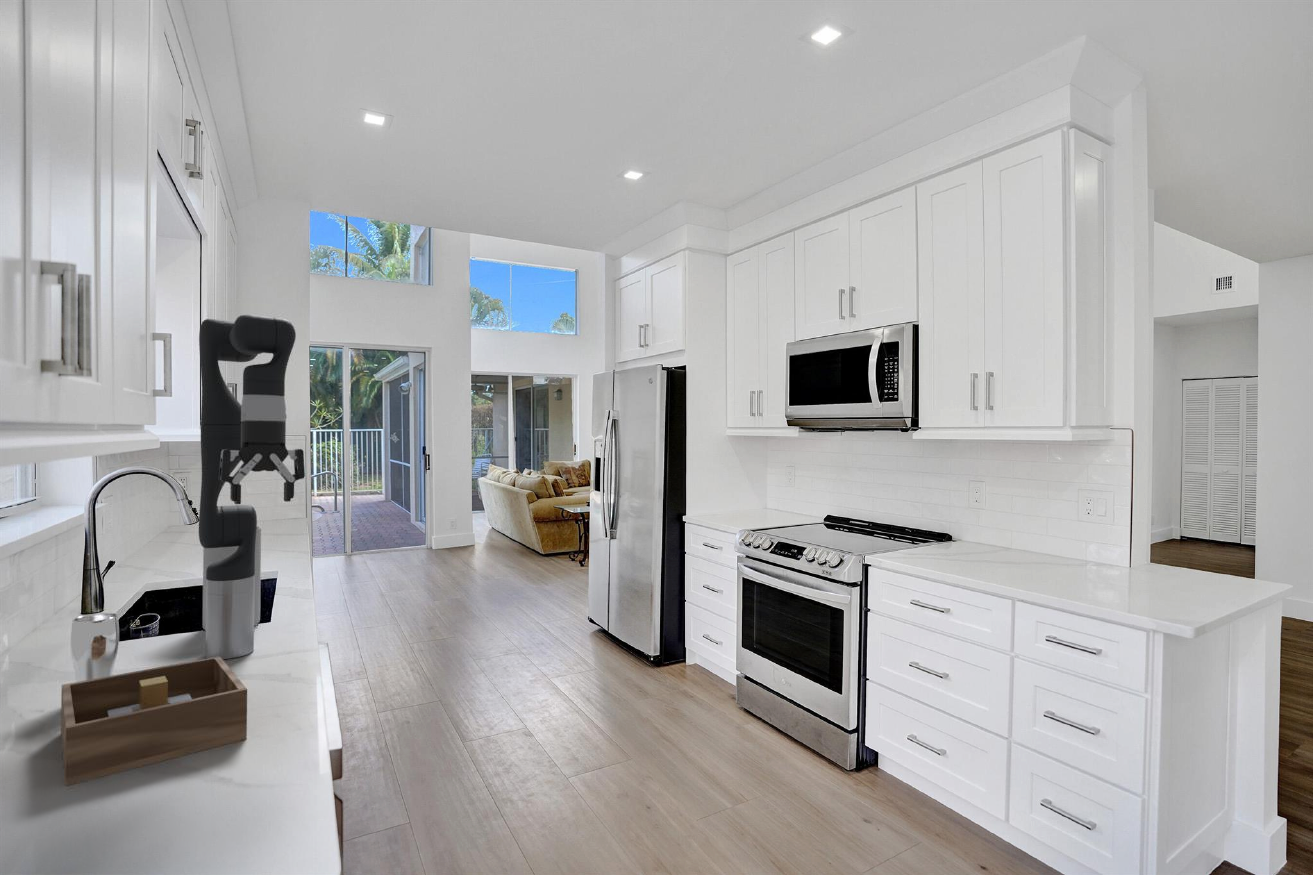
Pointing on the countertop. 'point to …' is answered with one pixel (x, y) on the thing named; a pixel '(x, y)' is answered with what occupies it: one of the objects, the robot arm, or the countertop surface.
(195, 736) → the walled box
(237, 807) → the countertop surface
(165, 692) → the tan wooden block
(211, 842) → the countertop surface
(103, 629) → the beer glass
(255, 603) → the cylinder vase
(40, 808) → the countertop surface
